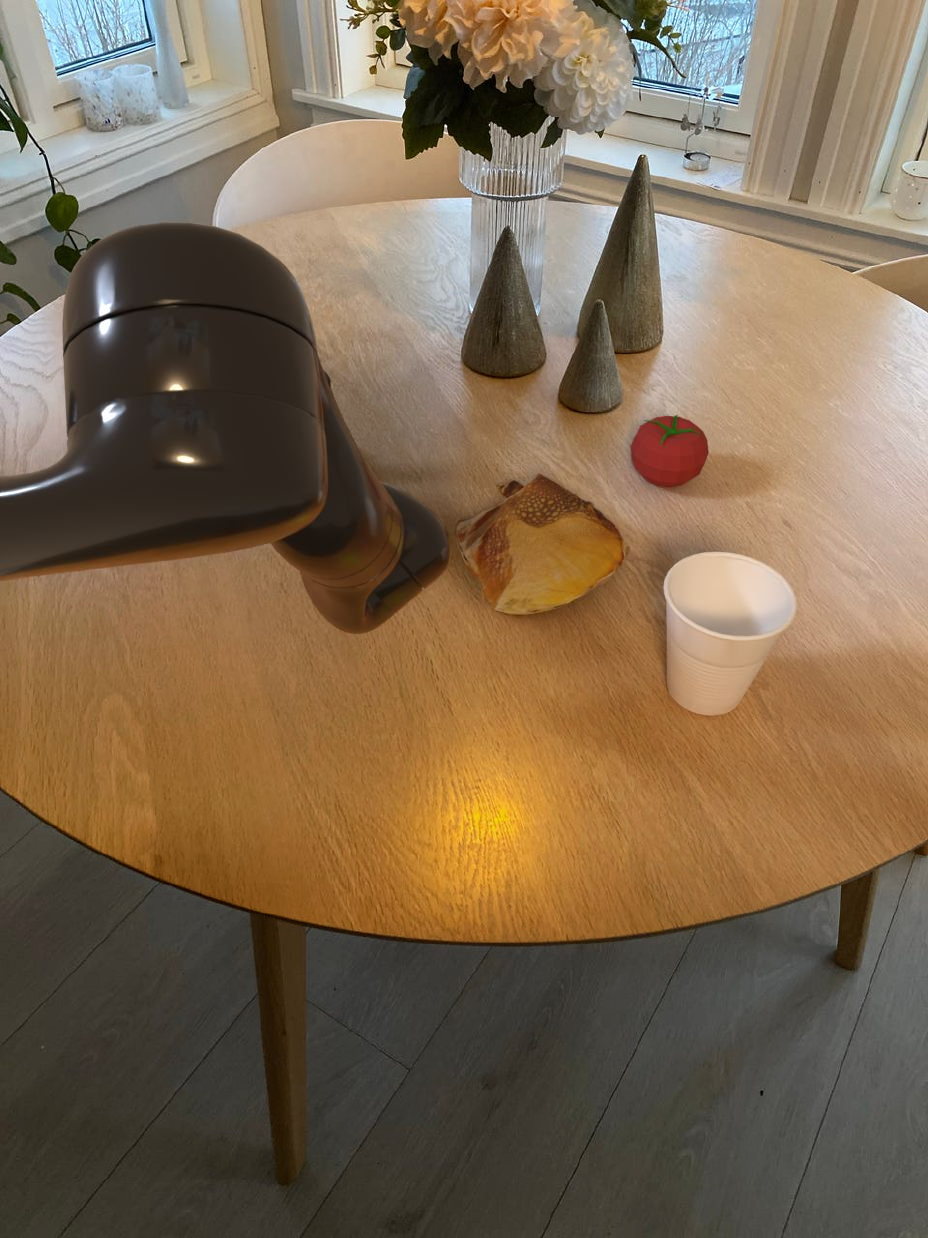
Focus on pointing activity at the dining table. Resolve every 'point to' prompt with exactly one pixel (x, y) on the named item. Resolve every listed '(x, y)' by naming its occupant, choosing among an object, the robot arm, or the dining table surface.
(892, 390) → the dining table surface
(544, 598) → the seashell
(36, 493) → the robot arm
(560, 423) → the dining table surface
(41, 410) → the dining table surface
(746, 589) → the cup
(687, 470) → the tomato
